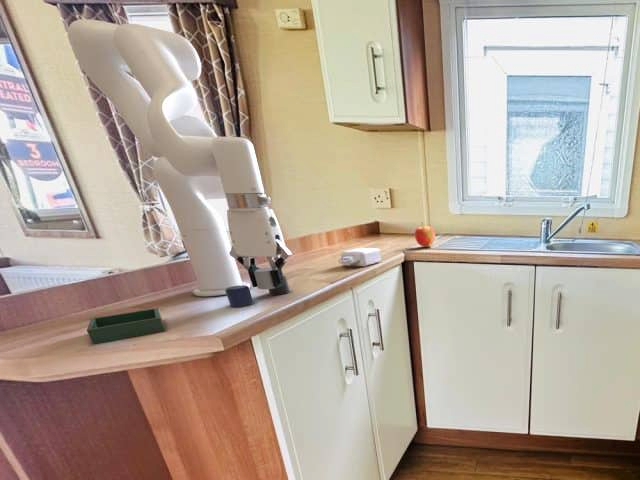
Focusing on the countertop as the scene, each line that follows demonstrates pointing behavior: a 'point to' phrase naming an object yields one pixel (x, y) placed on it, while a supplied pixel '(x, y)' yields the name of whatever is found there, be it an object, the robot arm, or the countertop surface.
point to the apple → (425, 236)
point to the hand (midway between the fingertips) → (268, 285)
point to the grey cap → (264, 278)
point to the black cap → (280, 289)
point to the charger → (360, 257)
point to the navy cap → (239, 296)
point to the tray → (125, 325)
